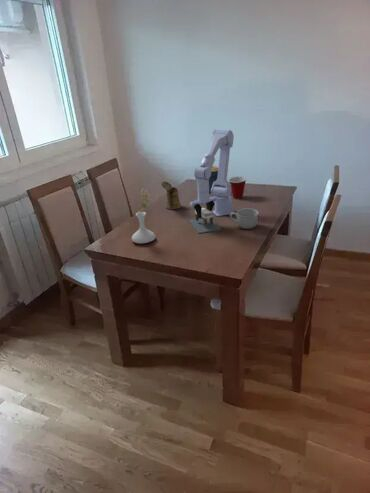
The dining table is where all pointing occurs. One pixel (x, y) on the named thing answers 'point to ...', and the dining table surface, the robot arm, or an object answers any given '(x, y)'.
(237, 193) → the plastic cup
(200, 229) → the mat
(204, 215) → the cream block with tabs
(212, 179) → the canister
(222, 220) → the dining table surface
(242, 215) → the teacup
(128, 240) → the dining table surface
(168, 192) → the wooden mug
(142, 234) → the flower in vase
